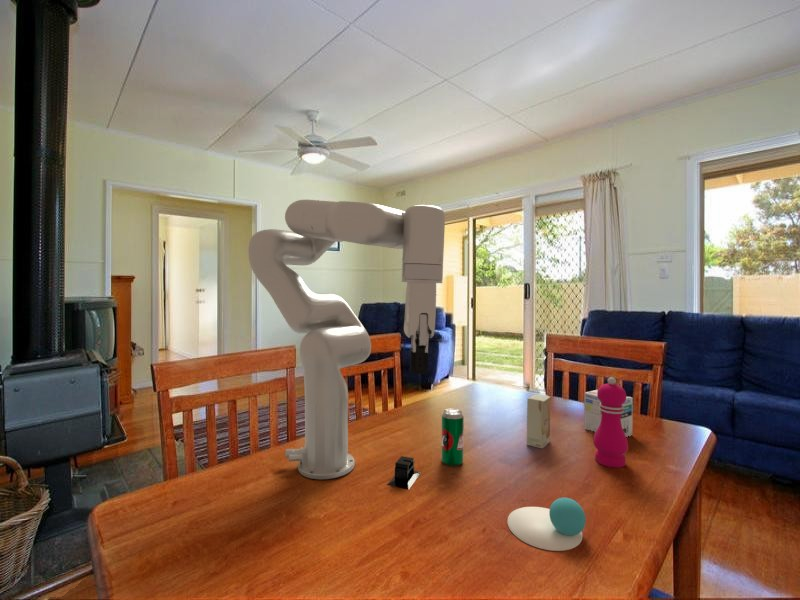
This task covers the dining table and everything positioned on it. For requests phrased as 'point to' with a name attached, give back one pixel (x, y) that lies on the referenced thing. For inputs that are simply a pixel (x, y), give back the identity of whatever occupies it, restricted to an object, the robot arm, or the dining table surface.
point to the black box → (404, 473)
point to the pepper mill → (611, 426)
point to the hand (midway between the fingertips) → (418, 372)
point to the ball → (567, 516)
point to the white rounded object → (540, 530)
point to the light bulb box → (594, 414)
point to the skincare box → (538, 420)
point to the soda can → (452, 437)
